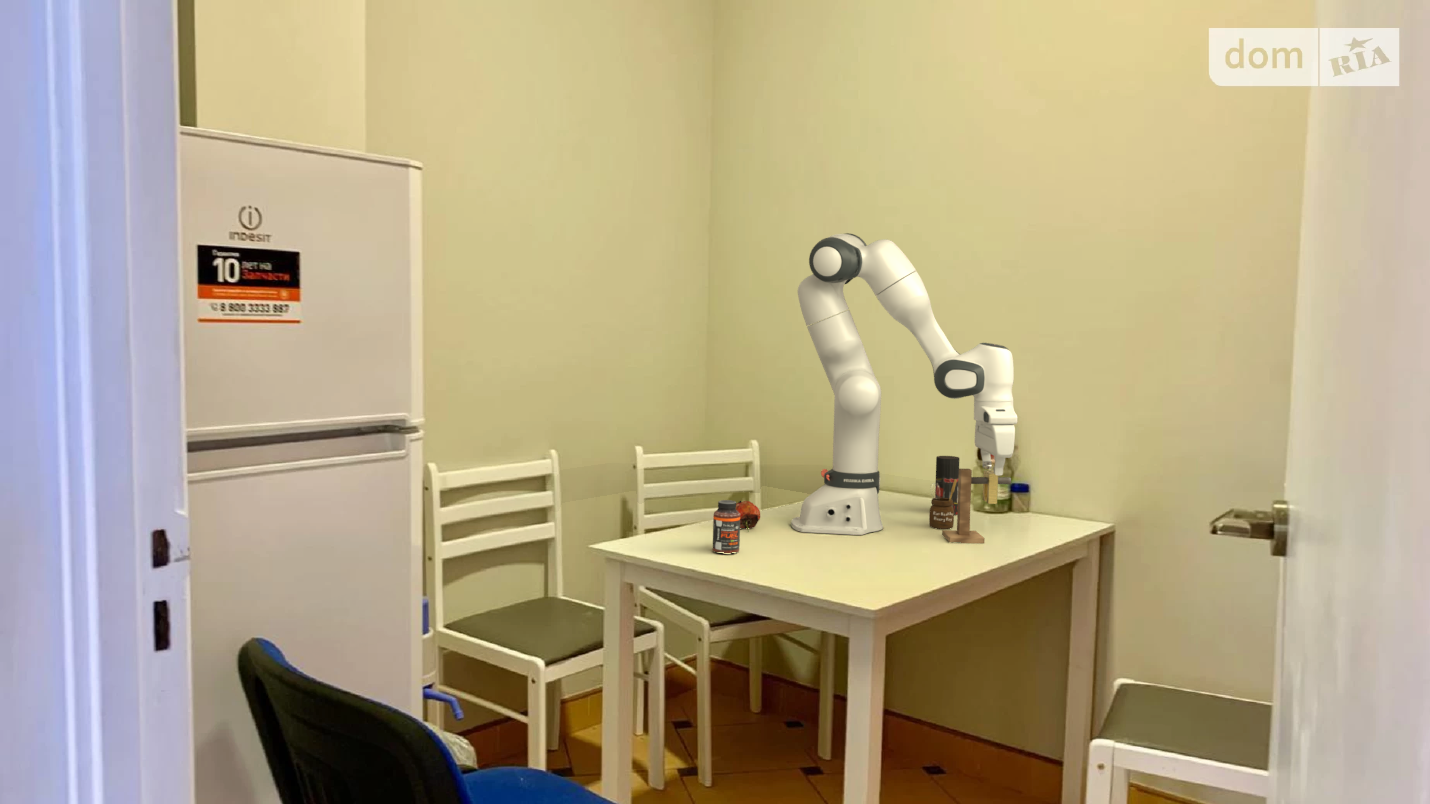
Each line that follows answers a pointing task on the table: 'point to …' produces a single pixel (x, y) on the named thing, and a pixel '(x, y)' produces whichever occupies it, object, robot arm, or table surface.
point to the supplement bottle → (726, 527)
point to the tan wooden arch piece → (990, 487)
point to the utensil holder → (942, 511)
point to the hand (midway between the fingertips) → (992, 471)
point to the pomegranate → (748, 514)
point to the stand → (967, 508)
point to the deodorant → (947, 478)
